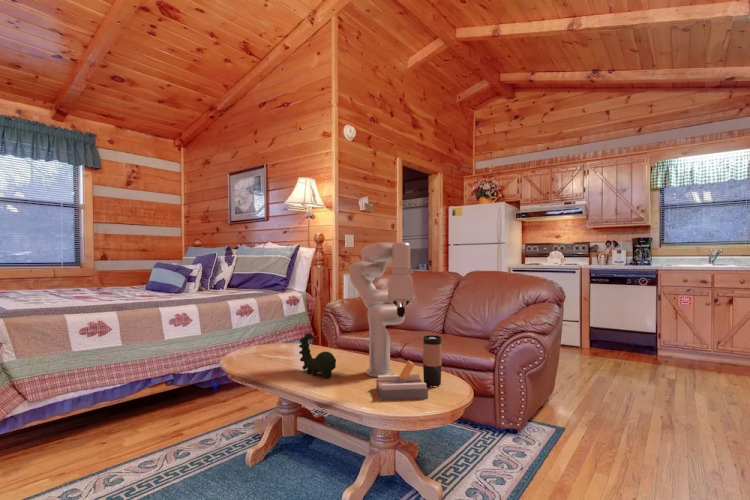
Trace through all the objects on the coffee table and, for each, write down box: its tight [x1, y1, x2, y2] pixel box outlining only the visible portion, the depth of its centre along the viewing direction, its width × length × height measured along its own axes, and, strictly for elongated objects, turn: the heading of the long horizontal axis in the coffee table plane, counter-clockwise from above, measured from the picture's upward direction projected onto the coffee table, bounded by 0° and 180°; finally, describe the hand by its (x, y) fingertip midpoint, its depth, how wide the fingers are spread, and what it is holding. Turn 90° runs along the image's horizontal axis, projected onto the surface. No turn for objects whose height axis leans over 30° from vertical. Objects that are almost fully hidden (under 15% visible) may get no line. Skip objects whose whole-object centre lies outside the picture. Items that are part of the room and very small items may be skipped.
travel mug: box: [422, 335, 443, 388], centre depth 169 cm, size 8×8×20 cm
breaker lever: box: [397, 360, 415, 383], centre depth 158 cm, size 4×2×9 cm
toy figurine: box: [298, 332, 337, 379], centre depth 183 cm, size 9×19×25 cm
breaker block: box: [375, 373, 429, 401], centre depth 158 cm, size 14×18×5 cm
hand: (400, 316), depth 165 cm, fingers closed
